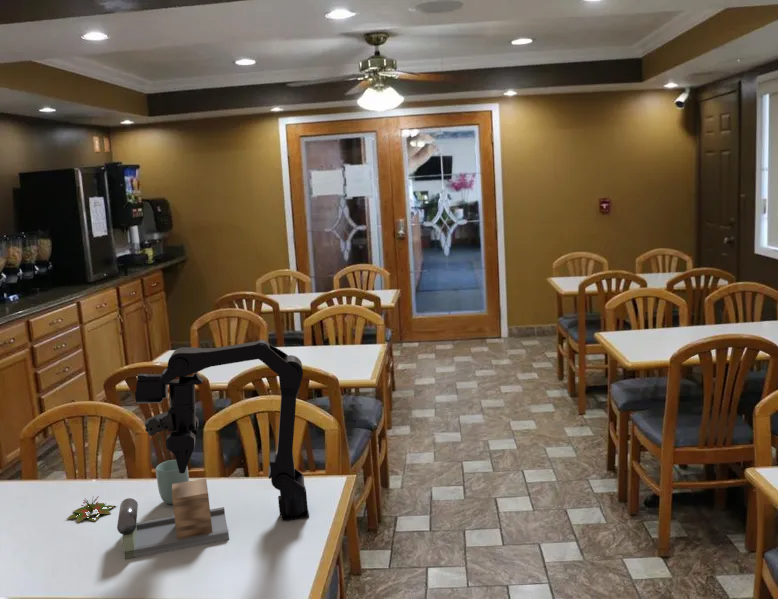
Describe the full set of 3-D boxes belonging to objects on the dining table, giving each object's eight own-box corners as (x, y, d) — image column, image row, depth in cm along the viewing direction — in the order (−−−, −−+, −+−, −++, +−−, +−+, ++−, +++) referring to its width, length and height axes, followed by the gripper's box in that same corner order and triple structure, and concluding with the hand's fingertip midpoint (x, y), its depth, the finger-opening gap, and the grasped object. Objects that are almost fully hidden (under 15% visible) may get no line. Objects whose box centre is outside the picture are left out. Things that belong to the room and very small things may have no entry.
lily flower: (87, 503, 199) (85, 486, 198) (126, 505, 195) (124, 489, 195) (56, 523, 187) (53, 506, 186) (97, 527, 184) (94, 509, 183)
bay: (224, 513, 186) (221, 479, 184) (229, 539, 173) (225, 503, 171) (124, 532, 179) (119, 497, 178) (120, 560, 166) (115, 522, 165)
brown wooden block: (210, 516, 182) (206, 478, 181) (212, 533, 174) (208, 493, 172) (176, 522, 180) (172, 483, 179) (177, 539, 172) (172, 499, 170)
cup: (182, 508, 191) (178, 471, 189) (154, 507, 192) (150, 470, 190) (196, 495, 198) (191, 459, 196) (169, 494, 200) (164, 459, 198)
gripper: (151, 393, 182) (152, 455, 184) (141, 414, 164) (143, 482, 165) (198, 392, 184) (198, 453, 186) (193, 412, 166) (194, 479, 168)
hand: (183, 466), depth 176 cm, fingers open, 9 cm apart
